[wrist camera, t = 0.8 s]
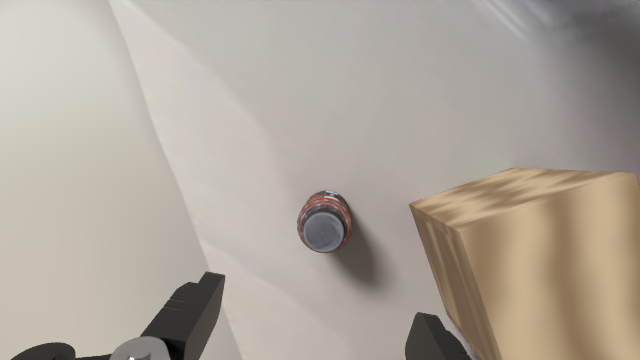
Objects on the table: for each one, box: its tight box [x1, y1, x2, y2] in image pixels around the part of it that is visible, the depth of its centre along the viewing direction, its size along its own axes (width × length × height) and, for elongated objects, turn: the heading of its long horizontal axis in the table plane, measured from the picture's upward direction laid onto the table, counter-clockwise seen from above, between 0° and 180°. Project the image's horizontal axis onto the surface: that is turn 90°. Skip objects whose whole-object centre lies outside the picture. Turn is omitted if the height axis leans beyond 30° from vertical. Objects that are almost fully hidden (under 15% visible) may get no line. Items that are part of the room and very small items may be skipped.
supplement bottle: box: [297, 191, 352, 253], centre depth 34 cm, size 6×6×11 cm
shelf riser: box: [409, 168, 640, 360], centre depth 31 cm, size 14×16×16 cm
